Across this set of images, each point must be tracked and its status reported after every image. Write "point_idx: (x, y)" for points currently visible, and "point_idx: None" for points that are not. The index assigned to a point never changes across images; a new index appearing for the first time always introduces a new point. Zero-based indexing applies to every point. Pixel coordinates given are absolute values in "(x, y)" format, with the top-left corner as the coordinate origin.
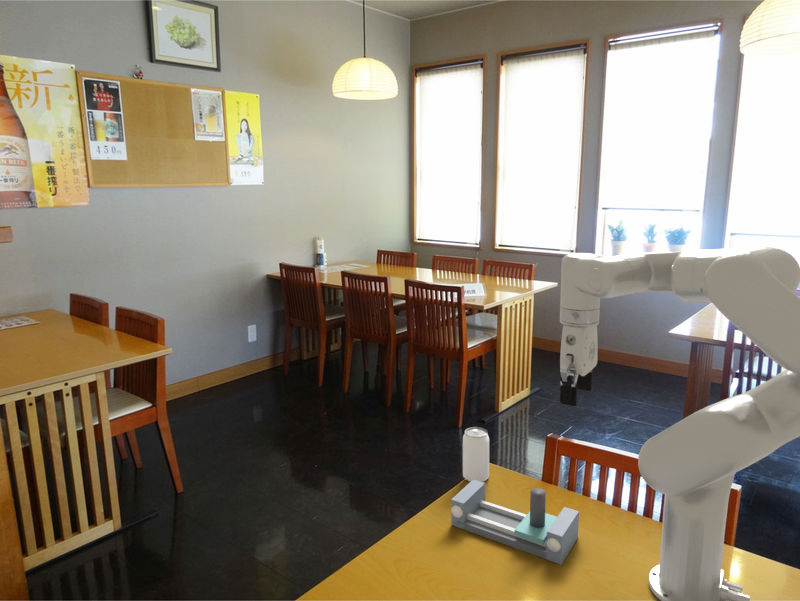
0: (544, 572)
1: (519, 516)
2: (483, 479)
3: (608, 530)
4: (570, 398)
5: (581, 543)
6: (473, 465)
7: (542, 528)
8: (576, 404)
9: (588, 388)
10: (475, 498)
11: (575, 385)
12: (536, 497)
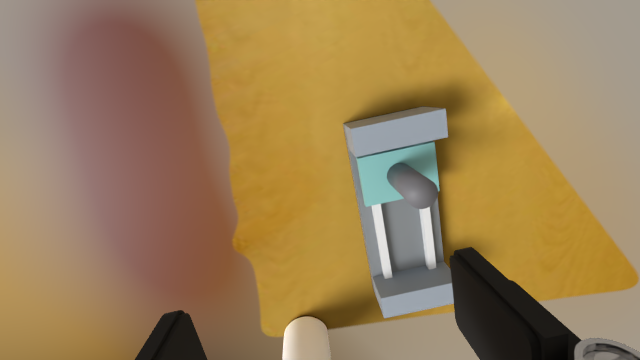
0: (454, 115)
1: (381, 213)
2: (311, 319)
3: (286, 96)
4: (525, 293)
5: (352, 111)
6: (327, 349)
7: (406, 161)
8: (463, 250)
9: (186, 328)
10: (414, 283)
11: (581, 355)
12: (436, 187)
